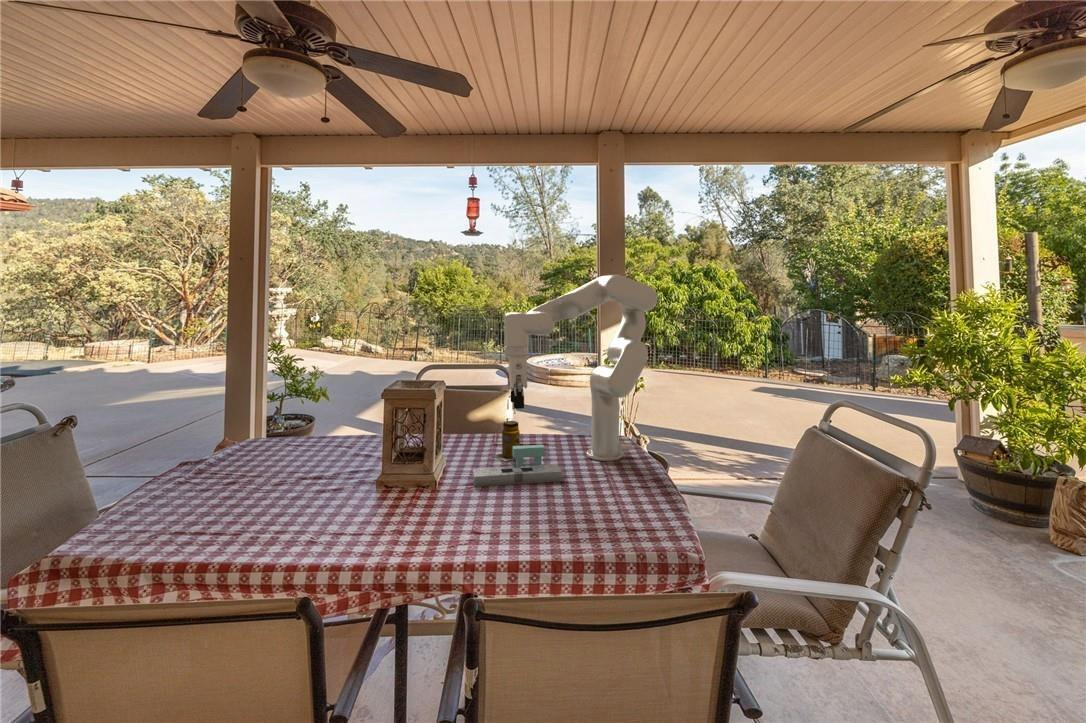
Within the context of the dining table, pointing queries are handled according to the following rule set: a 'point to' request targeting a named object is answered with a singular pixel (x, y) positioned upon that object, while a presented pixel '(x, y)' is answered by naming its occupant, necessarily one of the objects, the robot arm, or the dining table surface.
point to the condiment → (509, 440)
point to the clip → (528, 453)
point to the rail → (516, 475)
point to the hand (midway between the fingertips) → (517, 405)
